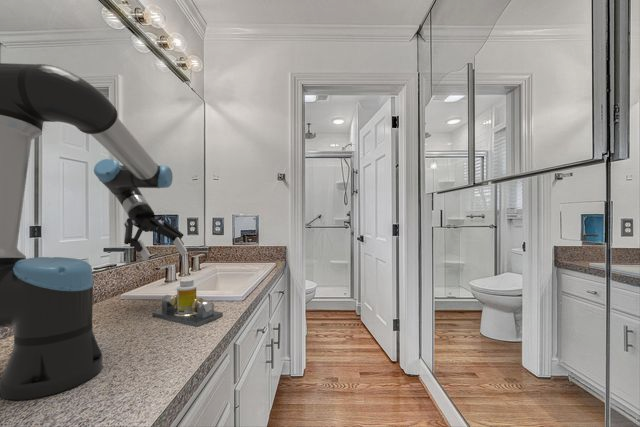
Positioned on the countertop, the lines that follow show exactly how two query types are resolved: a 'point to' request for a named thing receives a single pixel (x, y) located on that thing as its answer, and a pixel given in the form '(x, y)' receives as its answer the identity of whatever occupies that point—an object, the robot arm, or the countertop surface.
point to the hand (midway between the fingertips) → (167, 255)
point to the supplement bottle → (185, 296)
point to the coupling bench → (200, 315)
